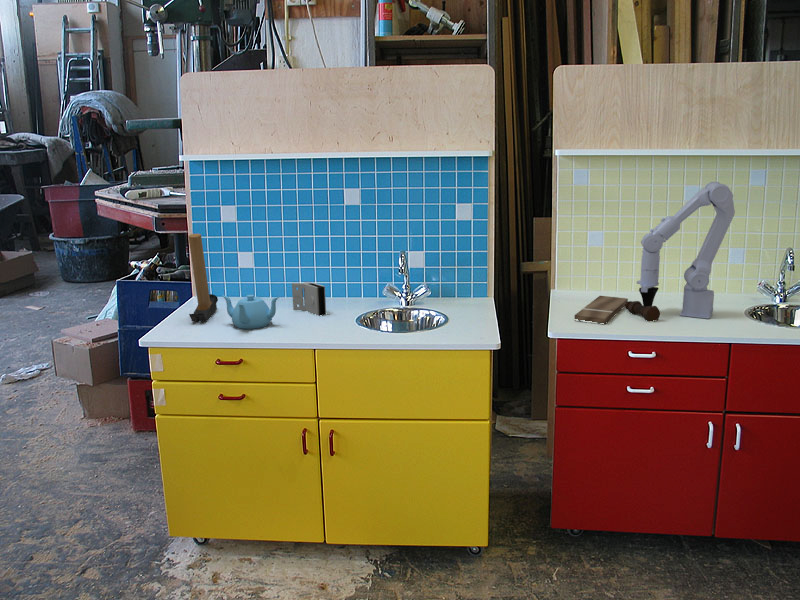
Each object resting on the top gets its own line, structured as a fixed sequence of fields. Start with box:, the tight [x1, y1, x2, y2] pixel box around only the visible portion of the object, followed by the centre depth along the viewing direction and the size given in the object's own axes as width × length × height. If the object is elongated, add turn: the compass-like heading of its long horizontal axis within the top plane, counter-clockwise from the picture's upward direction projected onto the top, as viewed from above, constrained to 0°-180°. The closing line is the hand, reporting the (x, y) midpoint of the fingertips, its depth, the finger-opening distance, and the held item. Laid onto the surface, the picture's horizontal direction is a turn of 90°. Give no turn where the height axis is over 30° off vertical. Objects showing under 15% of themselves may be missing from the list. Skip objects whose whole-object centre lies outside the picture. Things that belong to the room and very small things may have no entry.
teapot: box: [221, 294, 280, 330], centre depth 248 cm, size 15×15×10 cm
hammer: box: [187, 233, 219, 322], centre depth 256 cm, size 20×5×30 cm, turn 0°
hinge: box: [291, 281, 327, 316], centre depth 264 cm, size 14×5×10 cm, turn 51°
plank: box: [574, 295, 629, 325], centre depth 257 cm, size 10×30×2 cm, turn 150°
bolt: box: [624, 300, 661, 322], centre depth 252 cm, size 6×5×15 cm
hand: (647, 308), depth 254 cm, fingers closed
